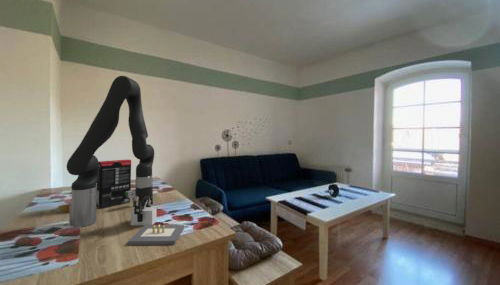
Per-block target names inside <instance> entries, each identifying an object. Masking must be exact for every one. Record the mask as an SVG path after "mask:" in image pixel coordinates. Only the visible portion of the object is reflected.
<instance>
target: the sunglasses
mask: <svg viewBox="0 0 500 285" xmlns="http://www.w3.org/2000/svg"><path fill="white" fill-rule="evenodd" d="M70 205H72V203H67V204H61V205H58V206H57V209H58V210H57V211H58V213H61V214H62V213H63V214H65V213H66V214H67V213H68V214H69V206H70Z"/></svg>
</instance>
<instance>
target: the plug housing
mask: <svg viewBox="0 0 500 285" xmlns="http://www.w3.org/2000/svg"><path fill="white" fill-rule="evenodd" d="M141 210H142V209H141ZM156 222H157V206H155V207H154V206H151V207H145V209H144V210H143V221H142V222H137V214H134V208H133V209H131V210H130V225H131V226H145V225H155V223H156Z"/></svg>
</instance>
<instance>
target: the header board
mask: <svg viewBox="0 0 500 285" xmlns="http://www.w3.org/2000/svg"><path fill="white" fill-rule="evenodd" d="M153 225H155V224H153ZM153 225H142V227H141V228H140V229H139V230H138V231H137V232H136V233H135V234H133V236H132V237H131V238H130V239H129V240H128V241H127V245H128V246H138V245H139V246H143V245H144V246H145V245H146V246H148V245H149V246H152V245H153V246H154V245H155V246H157V245H168V246H169V245H176V243H177V241H178V240H179V238H180V236H181V234H182V233H183V231H184V229H185V224H179V225H177V224H174V225H173V224H172V225H171V224H170V225H169V224H168V225H167V224H164V225H165V232H164V233H162V225H163V224H156V225H155V233H152V228H153ZM158 225H160V232H159V233H157V226H158Z"/></svg>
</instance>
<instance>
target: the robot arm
mask: <svg viewBox="0 0 500 285" xmlns="http://www.w3.org/2000/svg"><path fill="white" fill-rule="evenodd" d="M125 101H126V103H127V104H128V128H129V131H130V136H131V150H132V154H133V157H135V158H136V159H137V160H139V161H138V162H139V163H138V164H137V165H135V166H136V167H135V180H134V181H135V182H134V184H135V188H134V190H135V195H136V196H137V200H136V201H135V204H134V207H133V209H134V214H137V222H142V221H143V210H144V209H145V207H152V205H153V204H154V196H153V195H154V194H153V192H154V188H153V186H154V180H153V164H154V160H155V149H154V147H153V146H152V145H151V144H148V143H147V138H148V137H149V133H148V130H147V126H146V122H145V117H144V112H143V105H142V103H143V102H142V93H141V86H140V85H139V83H138V82H137V81H136V80H135V79H132V78H130V77H129V76H127V75H118V76H117V77H115V79H114V80H113V81H112V83H111V85H110V88H109V90H108V92H107V95H106V97H105V99H104V101H103V103H102V105H101V107H100V108H99V111H98V113H97V114H96V115H95V117H94V118H93V120H92V122H91V124H90V126H89V128H88V130H87V131H86V133H85V135H84V137H83V138H82V140H81V142H80V144H79V145H78V146H77V147H76V149H75V150H74V152H73V153H72V154H71V156H70V157H69V158H68V160H67V163H66V170H67V172H68V173H69V174H70V175H72V176H77V178H76V179H75V180H74V181H73V182H72V183H71V189H70V190H71V204H72V205H70V206H69V213H68V214H69V221H68V222H69V226H70V227H73V228H81V227H87V226H90V225H93V224H94V223H96V222H97V206H96V189H97V181H98V175H99V160H98V158H97V156H96V155H95V153H96V152H97V150H98V149H99V148H101V147H102V146H103V145H104V144H105V143H107V141H108V140H109V139H110V138H111V137H112V136H113V134H114V132H115V131H116V128H117V127H118V125H119V121H120V111H121V107H122V106H123V103H124V102H125ZM141 209H142V210H141Z"/></svg>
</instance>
